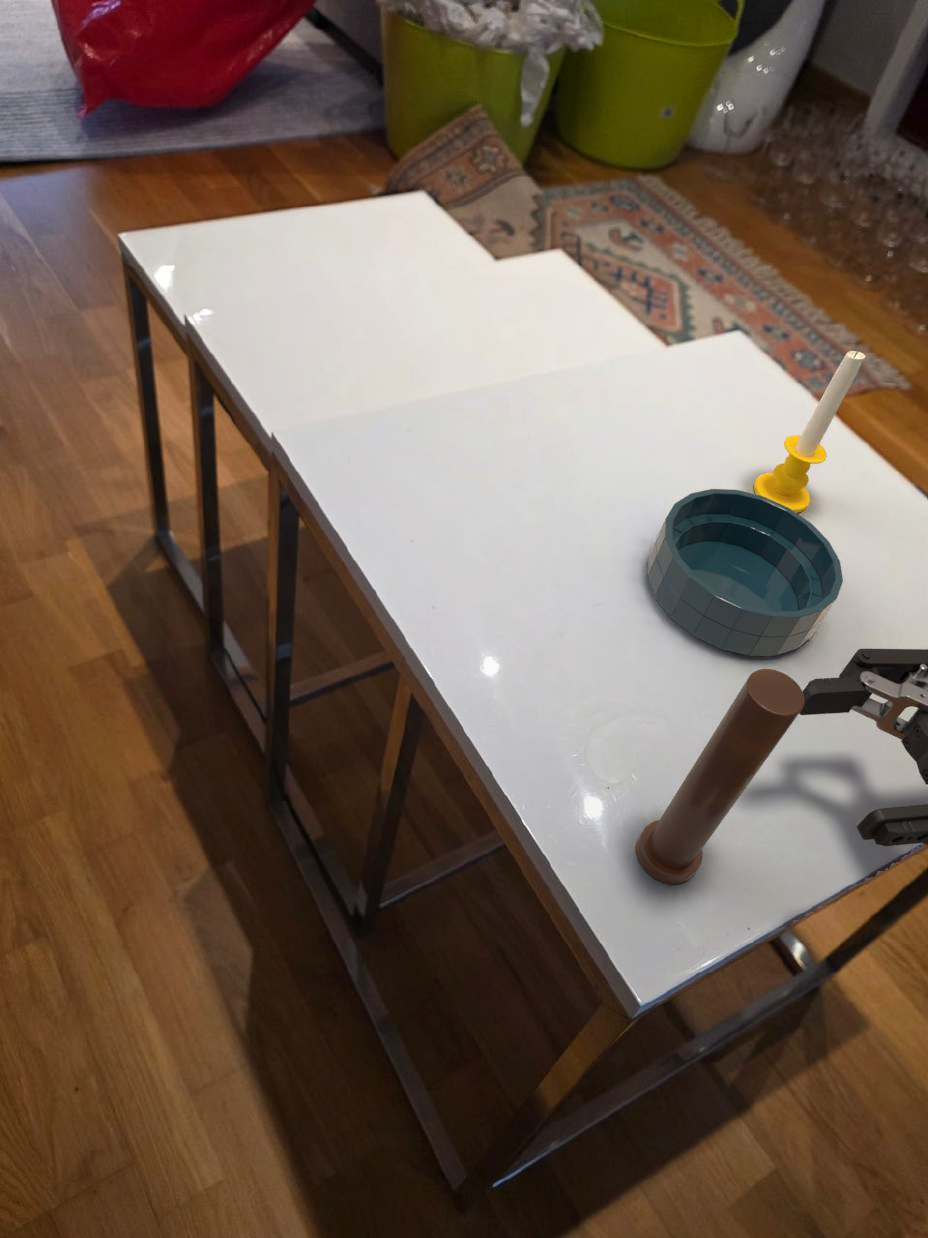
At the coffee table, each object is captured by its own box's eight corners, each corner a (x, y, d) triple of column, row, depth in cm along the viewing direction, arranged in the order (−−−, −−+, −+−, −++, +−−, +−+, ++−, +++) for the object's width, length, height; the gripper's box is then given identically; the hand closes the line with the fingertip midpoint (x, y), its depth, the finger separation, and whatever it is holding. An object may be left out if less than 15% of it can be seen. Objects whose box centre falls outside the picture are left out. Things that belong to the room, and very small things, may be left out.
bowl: (849, 635, 77) (879, 593, 74) (712, 679, 72) (738, 635, 68) (744, 520, 85) (766, 476, 82) (613, 551, 79) (631, 505, 76)
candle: (744, 494, 88) (819, 345, 77) (765, 469, 91) (840, 323, 80) (796, 522, 86) (880, 375, 75) (815, 495, 90) (899, 350, 78)
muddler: (709, 871, 60) (830, 711, 48) (658, 893, 59) (770, 733, 46) (674, 819, 63) (781, 652, 50) (624, 838, 61) (722, 671, 49)
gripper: (1030, 616, 61) (808, 623, 57) (1179, 811, 52) (928, 837, 48) (965, 688, 67) (758, 700, 62) (1090, 877, 58) (857, 905, 53)
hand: (832, 760), depth 55 cm, fingers open, 8 cm apart
